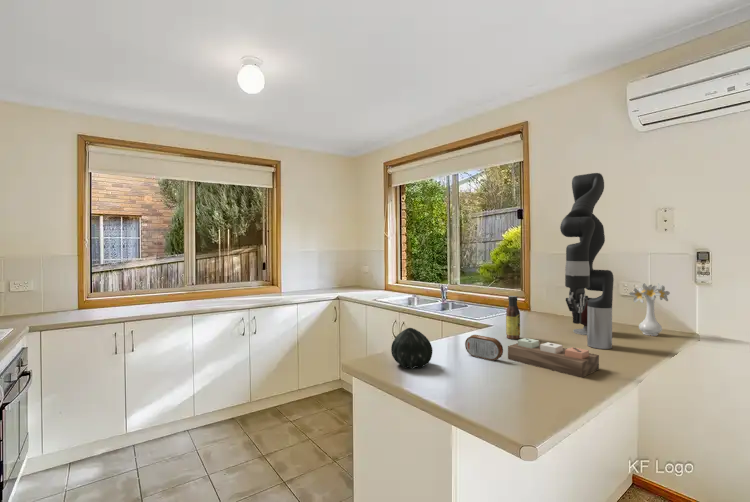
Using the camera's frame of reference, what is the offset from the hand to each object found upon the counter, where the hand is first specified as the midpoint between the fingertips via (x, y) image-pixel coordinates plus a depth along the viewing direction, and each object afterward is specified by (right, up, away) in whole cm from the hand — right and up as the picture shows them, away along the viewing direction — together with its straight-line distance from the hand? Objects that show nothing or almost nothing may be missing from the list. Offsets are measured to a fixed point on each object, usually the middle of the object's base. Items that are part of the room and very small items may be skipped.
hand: (577, 323), depth 133 cm
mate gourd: (+35, -16, +57) cm, 69 cm away
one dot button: (-6, -13, +7) cm, 16 cm away
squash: (-57, -17, +6) cm, 60 cm away
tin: (-29, -17, +15) cm, 36 cm away
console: (-6, -16, +7) cm, 19 cm away
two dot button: (-11, -13, +14) cm, 22 cm away
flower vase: (+64, -16, +53) cm, 85 cm away
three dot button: (0, -13, 0) cm, 13 cm away
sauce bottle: (-5, -16, +47) cm, 50 cm away
